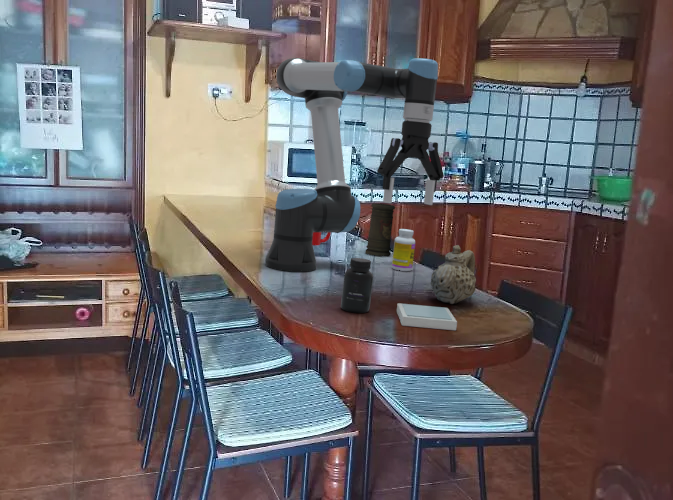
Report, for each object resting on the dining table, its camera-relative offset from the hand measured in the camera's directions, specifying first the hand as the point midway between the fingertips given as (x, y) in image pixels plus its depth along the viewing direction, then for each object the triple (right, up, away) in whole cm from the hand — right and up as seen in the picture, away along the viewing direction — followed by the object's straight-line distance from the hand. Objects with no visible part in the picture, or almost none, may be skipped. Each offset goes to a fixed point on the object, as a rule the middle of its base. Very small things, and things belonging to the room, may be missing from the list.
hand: (408, 203), depth 172 cm
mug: (-27, -10, +74) cm, 79 cm away
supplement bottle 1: (-14, -26, -18) cm, 35 cm away
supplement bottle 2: (+2, -19, +39) cm, 43 cm away
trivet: (+2, -28, -22) cm, 36 cm away
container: (-4, -14, +63) cm, 65 cm away
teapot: (+11, -26, 0) cm, 28 cm away
